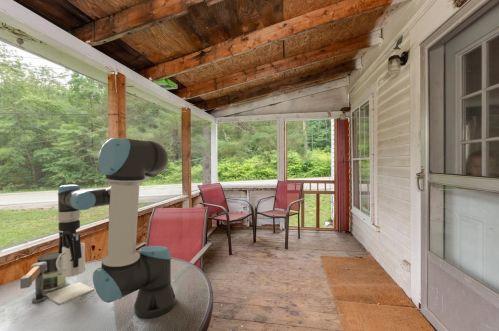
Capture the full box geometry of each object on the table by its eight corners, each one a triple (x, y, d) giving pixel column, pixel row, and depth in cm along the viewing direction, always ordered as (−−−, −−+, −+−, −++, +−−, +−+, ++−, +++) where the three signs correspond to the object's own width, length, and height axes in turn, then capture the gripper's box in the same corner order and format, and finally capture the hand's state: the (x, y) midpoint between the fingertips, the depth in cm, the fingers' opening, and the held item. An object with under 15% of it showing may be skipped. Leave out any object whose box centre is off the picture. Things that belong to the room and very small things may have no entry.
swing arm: (33, 270, 100) (33, 262, 100) (48, 268, 102) (48, 260, 102) (15, 289, 85) (15, 279, 85) (33, 286, 87) (33, 276, 87)
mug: (62, 282, 97) (62, 252, 97) (48, 278, 100) (48, 250, 100) (90, 269, 108) (89, 243, 108) (76, 267, 111) (76, 241, 111)
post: (48, 299, 100) (47, 271, 100) (34, 304, 96) (34, 275, 96) (43, 296, 102) (43, 269, 102) (30, 301, 98) (30, 273, 98)
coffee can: (43, 293, 104) (43, 261, 104) (33, 288, 109) (32, 257, 109) (70, 283, 113) (70, 253, 113) (59, 278, 118) (59, 250, 118)
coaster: (94, 290, 106) (93, 288, 106) (59, 305, 95) (59, 303, 95) (79, 283, 113) (79, 281, 113) (45, 296, 102) (45, 294, 102)
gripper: (91, 221, 102) (91, 274, 102) (68, 216, 113) (68, 264, 113) (71, 225, 96) (71, 281, 96) (48, 219, 106) (48, 270, 106)
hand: (69, 272), depth 104 cm, fingers closed on mug, 8 cm apart
